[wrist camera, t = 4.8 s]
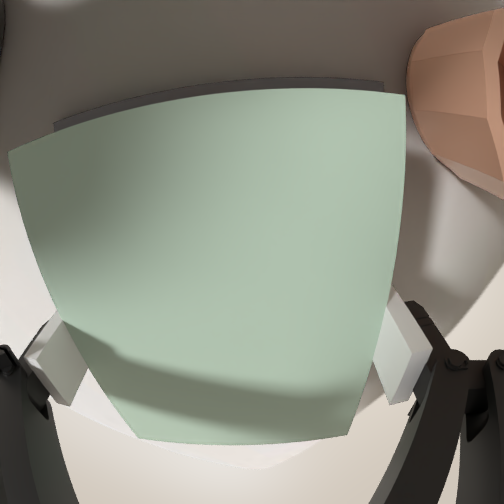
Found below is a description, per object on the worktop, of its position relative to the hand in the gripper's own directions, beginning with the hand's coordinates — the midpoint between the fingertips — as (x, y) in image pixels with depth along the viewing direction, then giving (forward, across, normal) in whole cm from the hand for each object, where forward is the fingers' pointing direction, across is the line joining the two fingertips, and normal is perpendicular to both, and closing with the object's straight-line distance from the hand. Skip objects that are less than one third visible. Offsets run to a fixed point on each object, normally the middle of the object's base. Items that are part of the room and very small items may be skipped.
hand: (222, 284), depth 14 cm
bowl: (+2, +14, +9) cm, 17 cm away
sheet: (-3, 0, 0) cm, 3 cm away
